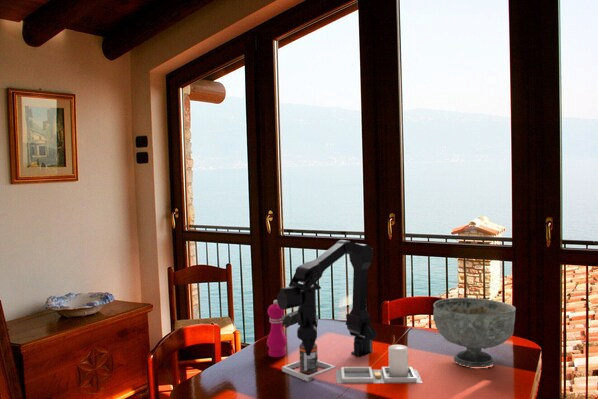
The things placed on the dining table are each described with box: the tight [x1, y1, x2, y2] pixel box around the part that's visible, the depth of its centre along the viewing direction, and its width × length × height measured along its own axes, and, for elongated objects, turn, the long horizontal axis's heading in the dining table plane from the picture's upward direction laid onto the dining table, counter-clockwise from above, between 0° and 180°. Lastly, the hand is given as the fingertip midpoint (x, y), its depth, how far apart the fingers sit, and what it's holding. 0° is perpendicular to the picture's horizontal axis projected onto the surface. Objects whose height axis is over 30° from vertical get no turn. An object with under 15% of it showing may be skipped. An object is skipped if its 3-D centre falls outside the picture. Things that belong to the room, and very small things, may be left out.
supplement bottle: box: [298, 340, 319, 375], centre depth 176 cm, size 6×6×11 cm
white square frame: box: [281, 359, 337, 382], centre depth 177 cm, size 13×13×2 cm
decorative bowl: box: [432, 297, 516, 367], centre depth 181 cm, size 26×26×20 cm
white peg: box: [387, 344, 409, 377], centre depth 167 cm, size 6×6×9 cm
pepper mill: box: [266, 299, 288, 358], centre depth 193 cm, size 7×7×20 cm
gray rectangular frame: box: [335, 366, 423, 384], centre depth 168 cm, size 26×11×2 cm, turn 87°
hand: (308, 350), depth 176 cm, fingers open, 9 cm apart
